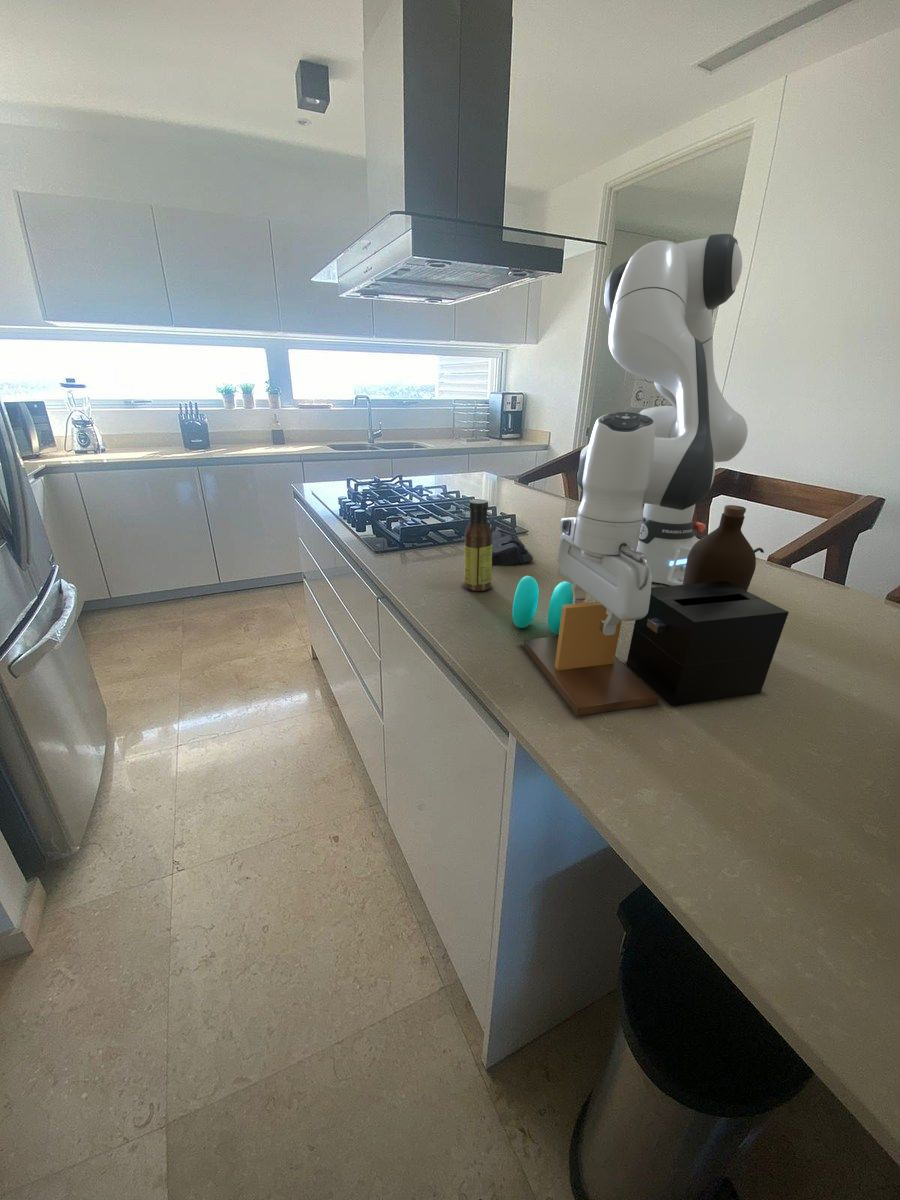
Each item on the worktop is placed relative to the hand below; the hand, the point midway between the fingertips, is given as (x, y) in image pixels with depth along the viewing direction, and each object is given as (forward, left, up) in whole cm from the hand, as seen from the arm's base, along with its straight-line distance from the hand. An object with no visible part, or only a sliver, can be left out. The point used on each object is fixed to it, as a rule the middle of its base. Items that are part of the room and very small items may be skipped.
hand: (592, 620), depth 75 cm
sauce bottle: (+7, -38, -10) cm, 40 cm away
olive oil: (-27, -6, -10) cm, 30 cm away
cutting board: (0, 0, -10) cm, 10 cm away
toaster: (-16, +5, -10) cm, 20 cm away
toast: (0, 0, -8) cm, 8 cm away
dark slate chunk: (-7, -61, -10) cm, 62 cm away
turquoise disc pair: (+1, -16, -10) cm, 19 cm away
